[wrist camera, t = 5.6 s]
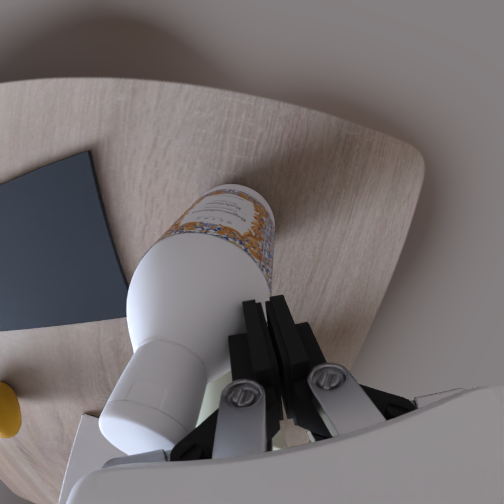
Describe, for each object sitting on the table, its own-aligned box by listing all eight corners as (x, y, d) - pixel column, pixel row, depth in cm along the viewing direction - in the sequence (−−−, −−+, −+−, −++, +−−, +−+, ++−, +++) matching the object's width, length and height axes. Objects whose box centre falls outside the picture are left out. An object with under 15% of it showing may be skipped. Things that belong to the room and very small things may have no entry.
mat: (90, 150, 22) (88, 150, 22) (138, 312, 28) (137, 315, 28) (-52, 212, 21) (-55, 213, 21) (-5, 329, 27) (-7, 332, 27)
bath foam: (282, 190, 24) (282, 405, 6) (267, 267, 27) (241, 501, 9) (197, 176, 24) (13, 328, 6) (190, 253, 27) (75, 453, 9)
